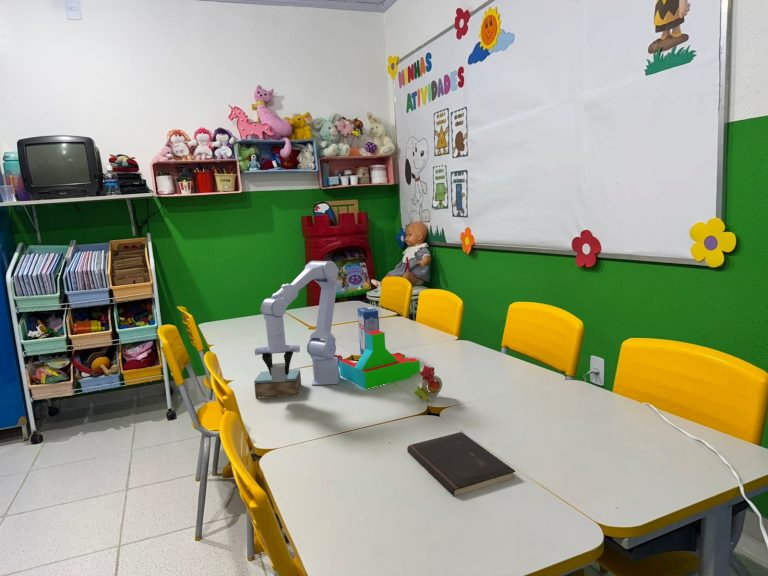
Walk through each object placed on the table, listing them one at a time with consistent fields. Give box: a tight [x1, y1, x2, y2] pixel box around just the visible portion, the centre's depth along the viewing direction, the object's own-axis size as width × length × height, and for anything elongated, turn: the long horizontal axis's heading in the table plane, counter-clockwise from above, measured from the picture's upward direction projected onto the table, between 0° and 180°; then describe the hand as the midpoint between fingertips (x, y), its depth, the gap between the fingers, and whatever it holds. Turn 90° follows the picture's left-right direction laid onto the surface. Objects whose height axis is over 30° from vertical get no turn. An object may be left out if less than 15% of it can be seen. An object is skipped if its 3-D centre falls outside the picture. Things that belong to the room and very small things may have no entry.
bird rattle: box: [413, 365, 443, 402], centre depth 164 cm, size 6×11×9 cm
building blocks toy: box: [339, 329, 421, 390], centre depth 189 cm, size 19×25×18 cm
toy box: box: [253, 372, 302, 399], centre depth 179 cm, size 14×11×5 cm
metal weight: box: [271, 362, 288, 382], centre depth 169 cm, size 4×4×5 cm
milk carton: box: [357, 306, 380, 356], centre depth 214 cm, size 10×6×20 cm, turn 17°
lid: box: [253, 368, 301, 384], centre depth 178 cm, size 14×11×1 cm
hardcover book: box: [406, 431, 516, 498], centre depth 122 cm, size 16×23×2 cm
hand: (279, 374), depth 170 cm, fingers closed on metal weight, 4 cm apart
